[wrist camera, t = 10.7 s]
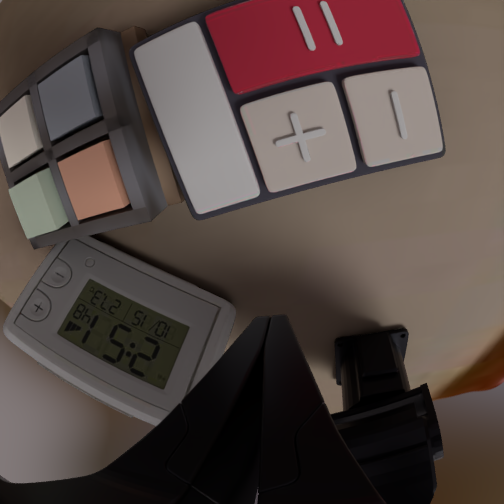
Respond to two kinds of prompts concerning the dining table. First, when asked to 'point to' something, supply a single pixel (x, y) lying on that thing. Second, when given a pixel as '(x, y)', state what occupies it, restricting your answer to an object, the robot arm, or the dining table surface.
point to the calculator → (287, 97)
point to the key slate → (70, 98)
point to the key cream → (20, 132)
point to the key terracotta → (94, 181)
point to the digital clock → (119, 327)
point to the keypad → (101, 137)
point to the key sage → (38, 204)
